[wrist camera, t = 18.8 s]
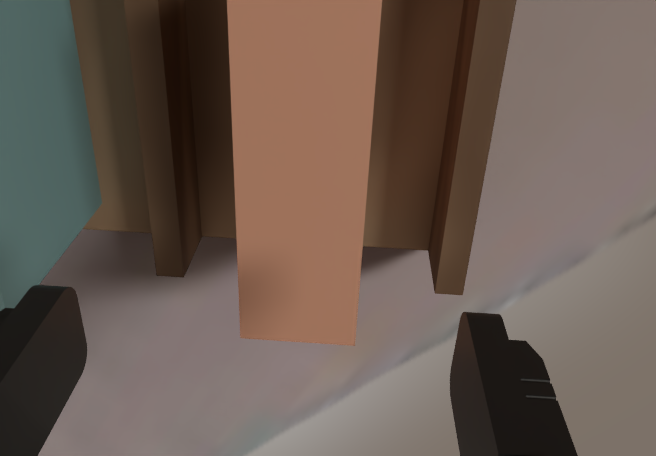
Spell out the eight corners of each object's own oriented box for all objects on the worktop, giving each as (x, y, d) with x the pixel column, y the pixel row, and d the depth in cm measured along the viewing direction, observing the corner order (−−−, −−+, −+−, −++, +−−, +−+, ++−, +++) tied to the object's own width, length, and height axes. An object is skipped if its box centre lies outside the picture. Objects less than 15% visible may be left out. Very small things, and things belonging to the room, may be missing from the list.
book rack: (-51, 205, 32) (-115, 258, 28) (-152, -132, 25) (-262, -130, 20) (449, 235, 32) (462, 295, 27) (503, -101, 24) (533, -93, 20)
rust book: (273, 213, 30) (240, 338, 22) (272, -65, 24) (226, -29, 16) (358, 218, 30) (354, 345, 22) (378, -60, 24) (383, -21, 16)
